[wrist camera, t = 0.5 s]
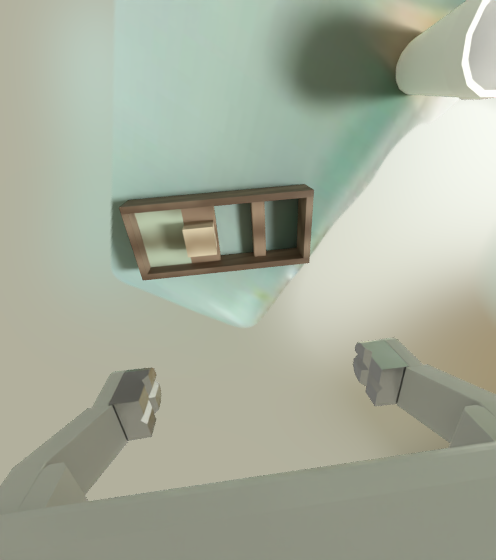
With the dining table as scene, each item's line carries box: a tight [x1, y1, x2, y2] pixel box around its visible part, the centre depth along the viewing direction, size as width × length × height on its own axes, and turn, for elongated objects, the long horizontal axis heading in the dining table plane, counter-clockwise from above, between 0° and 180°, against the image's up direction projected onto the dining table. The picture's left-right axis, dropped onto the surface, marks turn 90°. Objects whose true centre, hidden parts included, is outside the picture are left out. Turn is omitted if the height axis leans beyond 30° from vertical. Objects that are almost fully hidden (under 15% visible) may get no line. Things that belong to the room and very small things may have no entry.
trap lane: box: [119, 184, 314, 280], centre depth 41 cm, size 12×28×4 cm, turn 93°
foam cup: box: [396, 0, 496, 100], centre depth 29 cm, size 10×9×13 cm
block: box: [182, 220, 217, 257], centre depth 40 cm, size 4×4×4 cm
